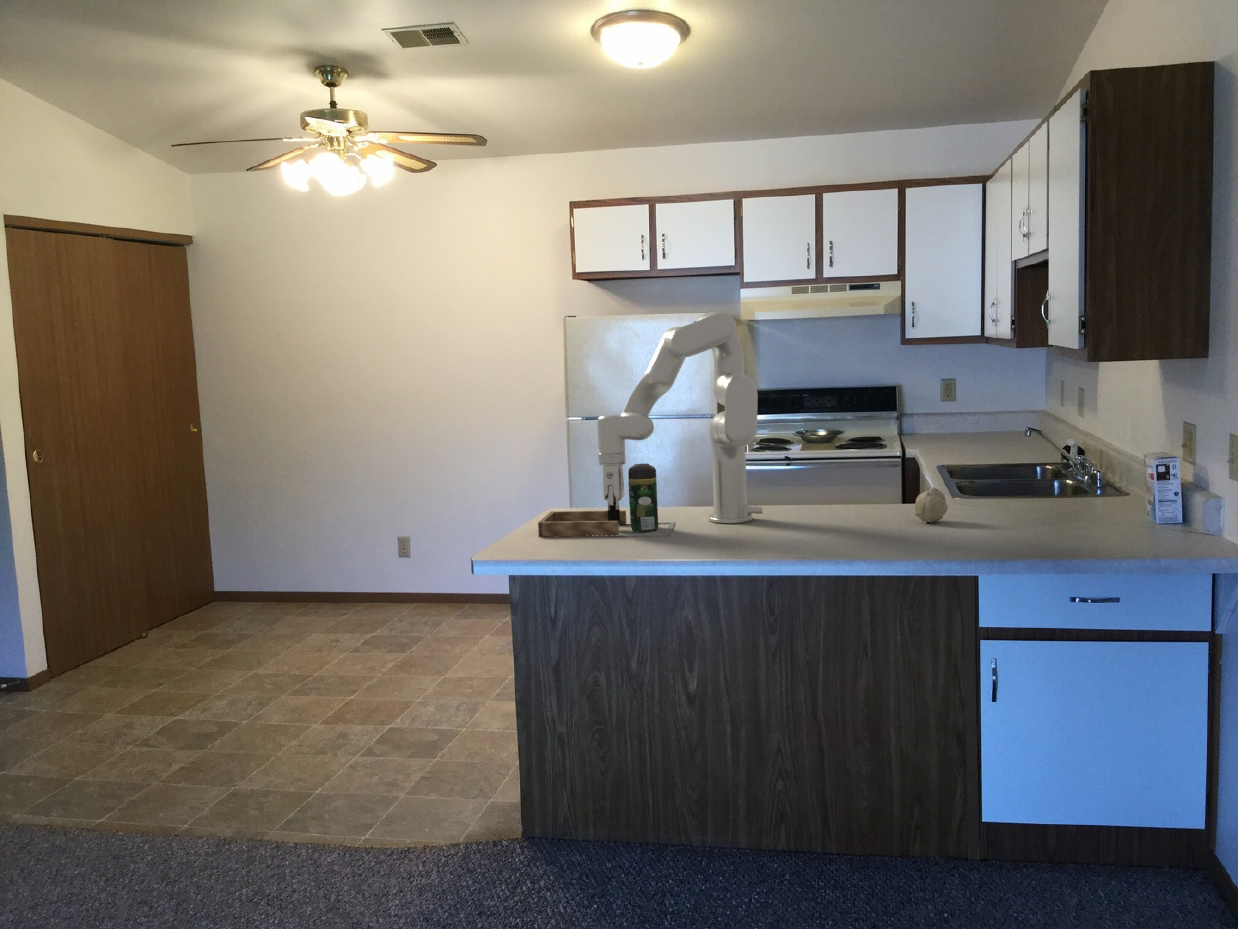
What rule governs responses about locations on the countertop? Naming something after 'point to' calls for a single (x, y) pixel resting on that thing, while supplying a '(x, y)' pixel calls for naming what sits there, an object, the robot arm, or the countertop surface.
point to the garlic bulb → (931, 505)
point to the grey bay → (668, 533)
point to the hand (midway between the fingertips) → (614, 523)
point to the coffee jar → (643, 498)
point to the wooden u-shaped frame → (579, 523)
